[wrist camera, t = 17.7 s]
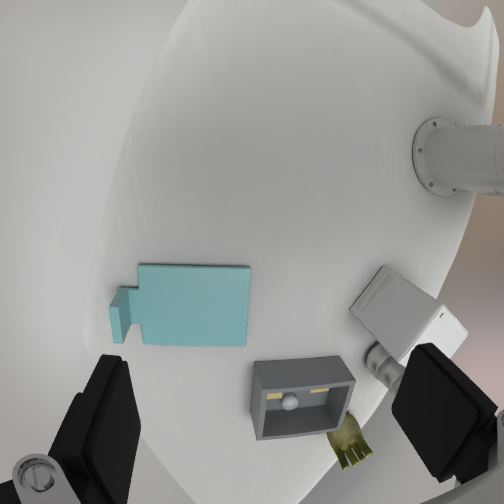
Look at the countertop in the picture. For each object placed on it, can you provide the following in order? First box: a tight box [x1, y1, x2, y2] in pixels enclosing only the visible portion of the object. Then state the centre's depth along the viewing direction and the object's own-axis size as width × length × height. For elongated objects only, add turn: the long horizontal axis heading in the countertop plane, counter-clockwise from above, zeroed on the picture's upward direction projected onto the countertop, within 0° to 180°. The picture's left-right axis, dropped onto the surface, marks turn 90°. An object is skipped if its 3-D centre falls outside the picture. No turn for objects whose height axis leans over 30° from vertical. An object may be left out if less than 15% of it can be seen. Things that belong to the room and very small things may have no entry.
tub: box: [250, 356, 356, 441], centre depth 46 cm, size 14×11×7 cm
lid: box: [109, 264, 251, 346], centre depth 39 cm, size 18×12×7 cm, turn 87°
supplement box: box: [350, 266, 468, 368], centre depth 40 cm, size 9×9×15 cm
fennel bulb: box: [327, 413, 373, 470], centre depth 47 cm, size 6×5×12 cm
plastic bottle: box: [366, 343, 405, 398], centre depth 41 cm, size 6×7×20 cm
